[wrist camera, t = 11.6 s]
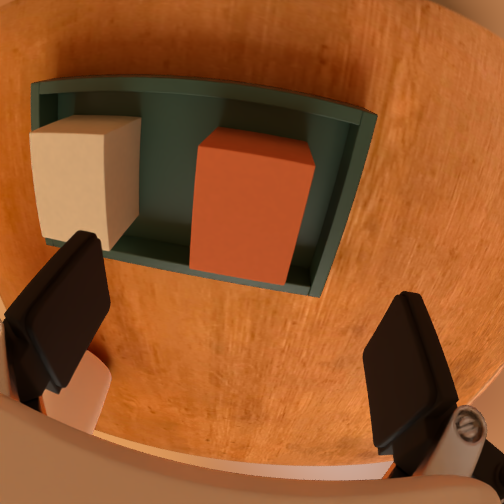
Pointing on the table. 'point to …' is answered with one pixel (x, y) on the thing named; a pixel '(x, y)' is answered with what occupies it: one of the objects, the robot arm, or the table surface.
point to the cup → (81, 395)
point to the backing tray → (185, 158)
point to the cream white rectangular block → (87, 176)
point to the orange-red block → (249, 204)
